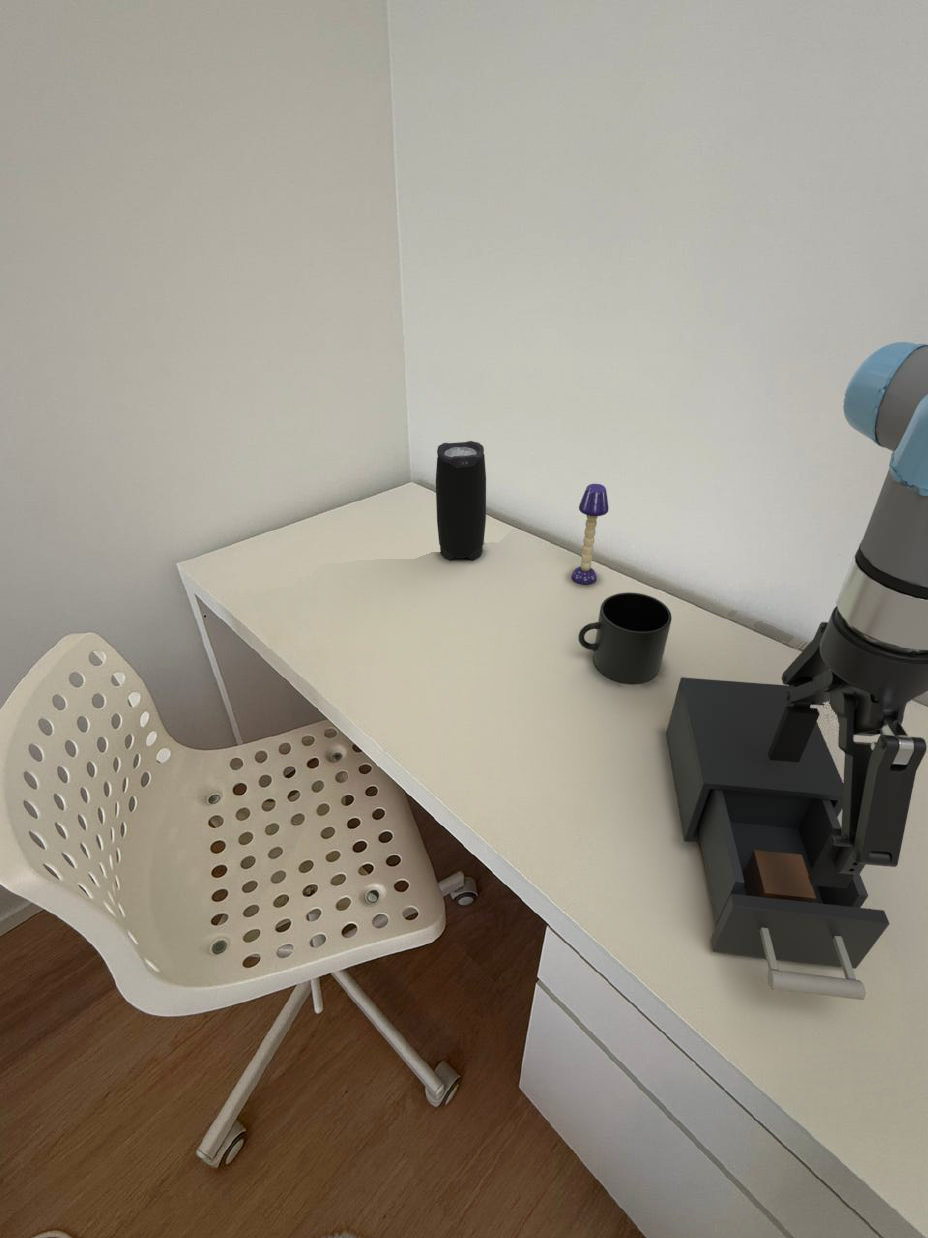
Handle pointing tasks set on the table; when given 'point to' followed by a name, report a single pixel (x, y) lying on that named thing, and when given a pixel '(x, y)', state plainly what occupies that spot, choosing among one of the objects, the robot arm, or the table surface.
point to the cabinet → (739, 748)
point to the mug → (629, 637)
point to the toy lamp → (590, 529)
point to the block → (778, 877)
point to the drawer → (779, 925)
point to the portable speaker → (461, 499)
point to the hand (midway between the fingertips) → (802, 815)
